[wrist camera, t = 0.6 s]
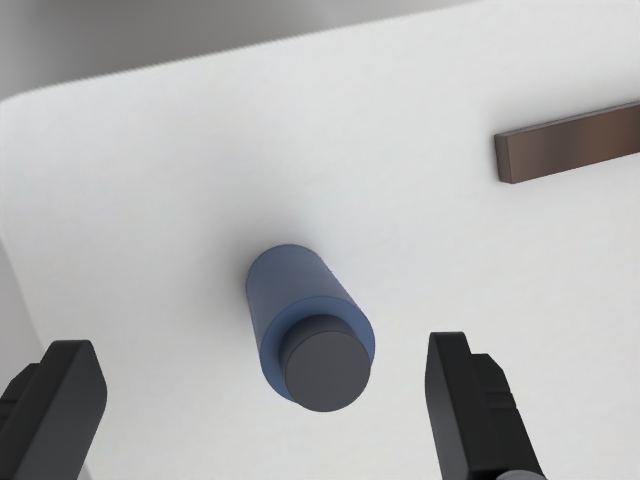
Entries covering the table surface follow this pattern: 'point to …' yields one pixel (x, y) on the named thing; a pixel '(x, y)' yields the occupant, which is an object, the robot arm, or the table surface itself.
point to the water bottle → (308, 330)
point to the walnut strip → (568, 143)
